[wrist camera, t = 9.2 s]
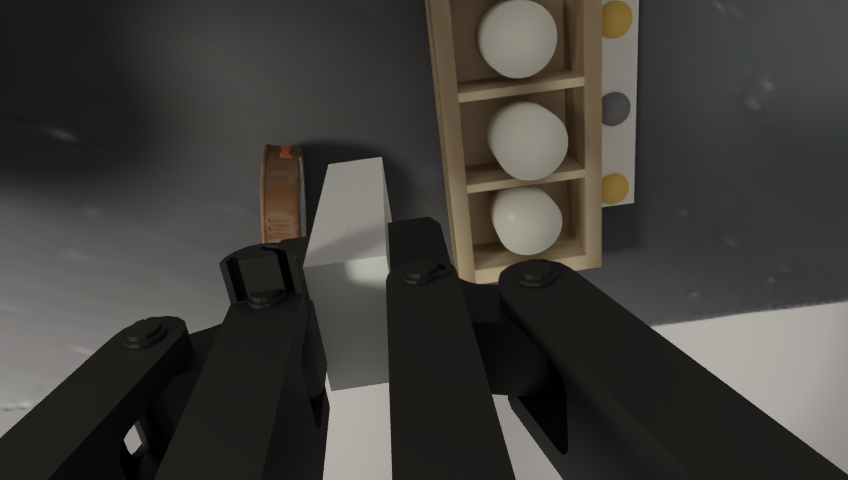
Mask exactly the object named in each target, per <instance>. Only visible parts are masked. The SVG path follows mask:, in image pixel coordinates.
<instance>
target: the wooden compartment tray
mask: <svg viewBox="0 0 848 480" xmlns="http://www.w3.org/2000/svg"><path fill="white" fill-rule="evenodd" d="M424 1H425V10H426V19H427V28H428V37H429V46H430V55H431V64H432V73H433V82H434V91H435V100H436V109H437V118H438V127H439V136H440V145H441V154H442V163H443V173H444V182H445V191H446V200H447V209H448V218H449V227H450V236H451V245H452V254H453V261H454V264H455V268H456V270H457V273H458V277H459V278H461V279H463V280H465V281H468V282H472V283H476V284H484V283H491V282H498V278H499V275H500V273H501V272H502V271H503V270H504V269H505V268H507V267H508V266H510V265H513V264H516V263H518V262H522V261H528V260H529V259H537V260H539V259H547V260H550V261H555V262H560V263H562V264H564V265H566V266H568V267H570V268H572V269H573V270H574V271H576V270H584V269H591V268H598V267H602V0H528V1H533V2H535V3H538V4H540V5H541V6H543V7H544V8H545V9H546V10H547V11H548V12H549V13H550V15H551V16H552V18H553V20H554V22H555V25H556V29H557V43H556V48H555V51H554V54H553V56H552V58H551V59H550V61H549V62H548V64H547V65H546V66H545V67H544V68H543V69H542V70H540V71H539V72H537V73H536V74H534V75H532V76H529V77H525V78H510V77H507V76H504V75H502V74H500V73H499V72H498V71H496V70H495V69H493V68H492V67H491V66H489V65H488V64H487V63H485V62H484V61H483V59H482V58H481V57H480V55H479V53H478V51H477V48H476V45H475V29H476V25H477V22H478V20H479V18H480V16H481V15H482V13H483V12H484V11H485V10H486V9H487V8H488V7H489V6H491V5H492V4H493V3H495V2H497V1H500V0H424ZM515 99H529V100H533V101H535V102H537V103H539V104H540V105H542V106H543V107H544V108H546V109H547V110H549V111H550V112H551V113H553V114H554V115H555V116H557V117H558V118H559V119H560V120H561V122H562V123H563V125H564V126H565V129H566V131H567V135H568V148H567V152H566V155H565V157H564V159H563V161H562V163H561V164H560V165H559V167H558V168H557V169H556V170H555V171H554V172H552V173H551V174H549V175H548V176H546V177H544V178H541V179H538V180H531V181H527V180H520V179H517V178H515V177H513V176H511V175H509V174H508V173H507V172H506V171H505V170H504V169H503V168H502V166H501V165H500V163H499V162H498V160H497V159H496V157H495V156H494V155H493V153H492V152H491V150H490V148H489V146H488V142H487V135H486V132H487V126H488V123H489V120H490V118H491V117H492V115H493V114H494V112H495V111H496V110H497V109H498V108H499V107H500V106H502V105H503V104H505V103H507V102H509V101H511V100H515ZM533 184H539V185H540V186H541V187H542V188H543V189H544V190H545V191H546V193H547V194H548V195H549V196H550V198H551V199H552V200H553V201H554V203H555V204H556V205H557V206H558V208H559V210H560V212H561V215H562V228H561V232H560V234H559V236H558V238H557V239H556V241H555V242H554V243H553V244H552V245H551V246H550V247H549V248H547V249H546V250H544V251H542V252H540V253H537V254H533V255H520V254H517V253H514V252H512V251H510V250H509V249H507V248H506V247H505V246H504V245H503V243H502V242H501V240H500V238H499V236H498V234H497V232H496V230H495V228H494V226H493V223H492V221H491V219H490V216H489V203H490V200H491V197H492V195H493V194H494V192H495V191H496V190H497V189H504V188H511V187H518V186H525V185H533Z"/></svg>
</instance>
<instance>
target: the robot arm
mask: <svg viewBox="0 0 848 480" xmlns="http://www.w3.org/2000/svg"><path fill="white" fill-rule="evenodd" d="M219 265H220V268H221V272H222V275H223V278H224V282H225V285H226V289H227V292H228V295H229V299H230V302H231V305H230V307H229V310H228V312H227V314H226V317H225V319H224V321H223V323H222V324H219V325H217V326H214V327H211V328H208V329H205V330H202V331H198V332H195V333H192V334H189V333H188V330H187V327H186V324H185V321H183V320H182V319H180V318H179V317H172V316H163V317H150V318H146V320H145V319H143V320H140V321H137V322H135V323H134V324H133V325H131V326H129V327H127V328H125V329H123V330H122V331H120V332H119V333H117V334H116V335H115V336H113V337H112V338H111V339H110V340H109V341H107V342H106V343H105V344H104V345H103V346H102V347H101V348H100V349H99V350H97V351H96V352H95V353H94V354H93V355H92V356H91V357H90V358H89V359H87V360H86V361H85V362H84V363H83V364H82V365H81V366H80V367H79V368H77V369H76V370H75V371H74V372H73V373H72V374H71V375H70V376H69V377H68V378H66V379H65V380H64V381H63V382H62V383H61V384H60V385H59V386H58V387H56V388H55V389H54V390H53V391H52V392H51V393H50V394H49V395H48V396H46V397H45V398H44V399H43V400H42V401H41V402H40V403H39V404H38V405H36V406H35V407H34V408H33V409H32V410H31V411H30V412H29V413H28V414H27V415H25V416H24V417H23V418H22V419H21V420H20V421H19V422H18V423H17V424H16V425H14V426H13V427H12V428H11V429H10V430H9V431H8V432H7V433H5V434H4V435H3V436H2V437H1V438H0V480H323V471H324V459H325V451H326V441H327V431H328V420H329V410H330V406H329V401H328V397H327V393H326V388H325V380H326V372H327V374H328V379H329V383H330V387H331V391H335V390H342V389H348V388H355V387H361V386H368V385H374V384H381V383H387V382H389V393H390V421H391V450H392V451H391V453H392V480H516V479H515V476H514V472H513V469H512V465H511V462H510V458H509V454H508V451H507V447H506V444H505V440H504V436H503V433H502V429H501V426H500V423H499V419H498V416H497V412H496V408H495V405H494V401H493V397H492V394H497V395H508V400H509V403H510V406H511V408H512V410H513V411H514V413H515V414H516V415H517V417H518V418H519V419H520V421H521V422H522V423H523V425H524V426H525V427H526V429H527V430H528V432H529V433H530V435H531V436H532V437H533V439H534V440H535V441H536V443H537V444H538V445H539V447H540V448H541V450H542V451H543V452H544V454H545V455H546V457H547V458H548V459H549V461H550V462H551V463H552V465H553V466H554V468H555V469H556V470H557V472H558V473H559V474H560V476H561V477H562V479H563V480H848V475H847V474H846V473H845V472H843V471H842V470H841V469H839V468H838V467H837V466H835V465H834V464H833V463H831V462H830V461H829V460H827V459H826V458H825V457H823V456H822V455H821V454H819V453H818V452H816V451H815V450H814V449H812V448H811V447H810V446H809V445H807V444H806V443H805V442H803V441H802V440H800V439H799V438H798V437H797V436H795V435H794V434H792V433H791V432H790V431H788V430H787V429H786V428H784V427H783V426H782V425H780V424H779V423H778V422H776V421H775V420H774V419H772V418H771V417H770V416H768V415H767V414H766V413H764V412H763V411H762V410H760V409H759V408H758V407H756V406H755V405H754V404H752V403H751V402H750V401H748V400H747V399H745V398H744V397H743V396H742V395H740V394H739V393H737V392H736V391H735V390H733V389H732V388H731V387H729V386H728V385H727V384H726V383H724V382H723V381H722V380H720V379H719V378H718V377H716V376H715V375H714V374H712V373H711V372H709V371H708V370H707V369H705V368H704V367H702V366H701V365H700V364H699V363H697V362H696V361H695V360H693V359H692V358H691V357H689V356H688V355H687V354H685V353H684V352H683V351H681V350H680V349H679V348H677V347H676V346H675V345H673V344H672V343H671V342H669V341H668V340H667V339H665V338H664V337H662V336H661V335H660V334H659V333H657V332H656V331H655V330H653V329H652V328H651V327H649V326H648V325H647V324H645V323H644V322H643V321H641V320H640V319H639V318H637V317H636V316H635V315H633V314H632V313H630V312H629V311H628V310H626V309H625V308H624V307H622V306H621V305H620V304H618V303H617V302H616V301H614V300H613V299H612V298H610V297H609V296H608V295H606V294H605V293H604V292H602V291H601V290H600V289H598V288H597V287H596V286H594V285H593V284H592V283H590V282H589V281H588V280H586V279H585V278H584V277H582V276H581V275H580V274H578V273H577V272H576V271H574V270H573V269H572V268H570V267H568V266H566V265H564V264H562V263H560V262H555V261H550V260H547V259H539V260H537V259H529V260H528V261H522V262H518V263H516V264H513V265H510V266H508V267H507V268H505V269H504V270H503V271H502V272H501V273H500V275H499V278H498V283H499V285H486V284H476V283H472V282H468V281H465V280H463V279H461V278H459V277H458V273H457V270H456V269H455V267H454V266H453V265H452V264H451V262H450V259H449V255H448V251H447V248H446V244H445V240H444V237H443V233H442V229H441V226H440V223H438V222H437V221H435V220H433V219H432V218H430V217H424V218H417V219H410V220H403V221H396V222H392V219H391V212H390V206H389V200H388V193H387V187H386V181H385V174H384V168H383V162H382V157H377V158H370V159H363V160H356V161H349V162H341V163H334V164H329V165H328V169H327V173H326V177H325V181H324V185H323V189H322V193H321V197H320V201H319V205H318V209H317V213H316V217H315V221H314V225H313V229H312V233H311V236H304V237H297V238H291V239H284V240H281V241H280V242H279V243H276V242H275V243H262V244H257V245H253V246H248V247H246V248H243V249H240V250H238V251H235V252H233V253H232V254H230V255H228V256H227V257H225V258H224V259H223V260H222V261H221V262H220V263H219ZM133 425H135V427H136V430H137V432H138V434H139V437H140V440H141V442H142V444H141V446H140V447H139V448H138V449H137V450H136V452H134V453H133V454H132V455H131V454H130V453H129V451H128V449H127V447H126V445H125V442H124V438H125V436H126V434H127V433H128V431H129V430H130V429H131V428H132V426H133Z"/></svg>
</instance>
